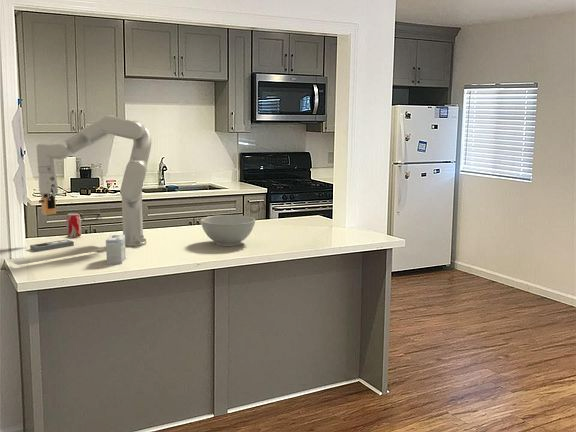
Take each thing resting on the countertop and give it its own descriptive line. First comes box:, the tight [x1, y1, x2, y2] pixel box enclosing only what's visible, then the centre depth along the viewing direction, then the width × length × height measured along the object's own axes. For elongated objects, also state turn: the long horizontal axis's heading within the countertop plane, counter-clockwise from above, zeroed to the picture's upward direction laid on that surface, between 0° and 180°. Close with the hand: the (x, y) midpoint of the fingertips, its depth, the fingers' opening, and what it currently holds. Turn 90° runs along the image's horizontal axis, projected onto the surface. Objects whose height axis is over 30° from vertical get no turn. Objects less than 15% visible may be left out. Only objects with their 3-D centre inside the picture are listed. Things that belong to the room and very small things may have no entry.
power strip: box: [29, 239, 75, 253], centre depth 305 cm, size 7×18×4 cm, turn 136°
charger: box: [38, 196, 57, 216], centre depth 309 cm, size 4×7×8 cm, turn 138°
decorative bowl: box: [200, 214, 256, 247], centre depth 320 cm, size 27×27×12 cm
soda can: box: [65, 212, 82, 239], centre depth 335 cm, size 7×7×12 cm
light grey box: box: [105, 234, 127, 265], centre depth 285 cm, size 11×7×11 cm, turn 5°
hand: (49, 207), depth 310 cm, fingers closed on charger, 4 cm apart
